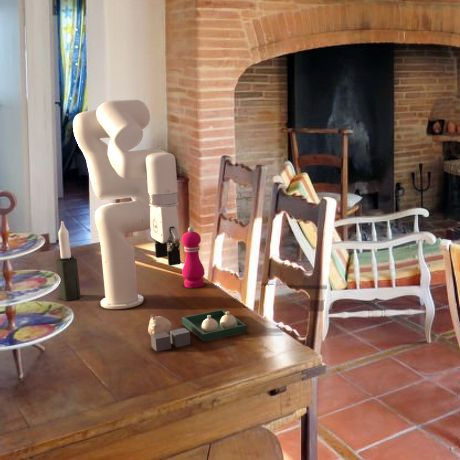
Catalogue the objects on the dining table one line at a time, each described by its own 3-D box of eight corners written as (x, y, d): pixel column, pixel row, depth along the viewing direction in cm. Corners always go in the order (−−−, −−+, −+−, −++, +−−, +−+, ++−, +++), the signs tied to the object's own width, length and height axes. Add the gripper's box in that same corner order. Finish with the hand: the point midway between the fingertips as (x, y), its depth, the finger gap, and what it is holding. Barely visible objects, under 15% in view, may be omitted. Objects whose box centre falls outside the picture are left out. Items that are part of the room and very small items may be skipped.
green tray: (182, 325, 230) (181, 317, 229) (223, 317, 237) (223, 308, 237) (203, 343, 217) (203, 334, 216) (247, 333, 224) (246, 324, 224)
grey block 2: (170, 344, 216) (169, 330, 215) (185, 341, 218) (184, 327, 217) (176, 349, 213) (175, 335, 212) (190, 345, 215) (189, 331, 214)
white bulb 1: (199, 332, 223) (198, 315, 222) (214, 329, 225) (213, 311, 224) (205, 337, 219) (204, 319, 218) (220, 334, 222) (219, 316, 221)
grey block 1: (151, 348, 213) (150, 334, 212) (166, 345, 215) (165, 331, 214) (156, 353, 210) (155, 339, 209) (171, 350, 212) (170, 336, 211)
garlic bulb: (144, 337, 221) (142, 309, 219) (166, 331, 225) (164, 304, 223) (154, 344, 216) (152, 316, 214) (177, 338, 221) (175, 310, 219)
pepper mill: (199, 289, 263) (195, 230, 258) (179, 287, 265) (175, 229, 260) (209, 282, 270) (205, 225, 265) (189, 281, 271) (185, 224, 267)
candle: (72, 294, 258) (65, 218, 252) (82, 297, 255) (74, 220, 249) (58, 298, 254) (49, 221, 248) (67, 301, 251) (59, 223, 245)
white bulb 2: (218, 328, 226) (217, 311, 225) (232, 325, 228) (231, 308, 227) (224, 333, 223) (223, 315, 221) (239, 330, 225) (238, 312, 224)
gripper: (138, 195, 218) (143, 256, 222) (160, 206, 205) (165, 270, 209) (165, 192, 223) (170, 252, 227) (189, 202, 209) (193, 265, 213)
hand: (168, 260), depth 218 cm, fingers open, 9 cm apart
